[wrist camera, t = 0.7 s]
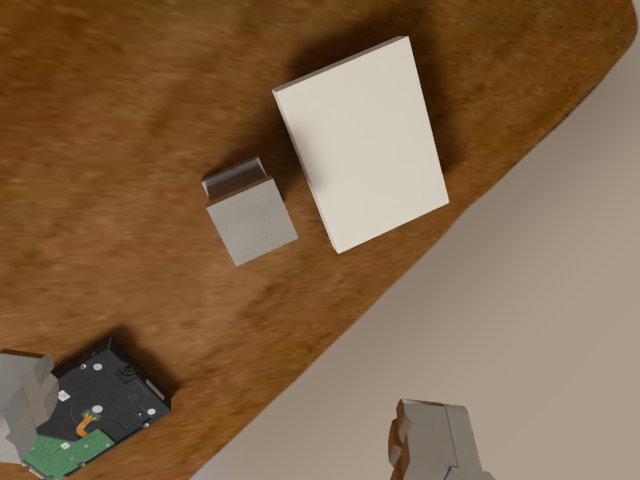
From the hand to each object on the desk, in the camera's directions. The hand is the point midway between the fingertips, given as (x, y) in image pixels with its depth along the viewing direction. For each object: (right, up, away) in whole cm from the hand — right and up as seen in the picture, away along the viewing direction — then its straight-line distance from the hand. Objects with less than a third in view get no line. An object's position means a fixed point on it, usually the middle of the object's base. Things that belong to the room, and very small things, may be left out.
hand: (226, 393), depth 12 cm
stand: (+6, +13, +36) cm, 38 cm away
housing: (-5, +8, +35) cm, 36 cm away
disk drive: (-22, -13, +39) cm, 47 cm away
